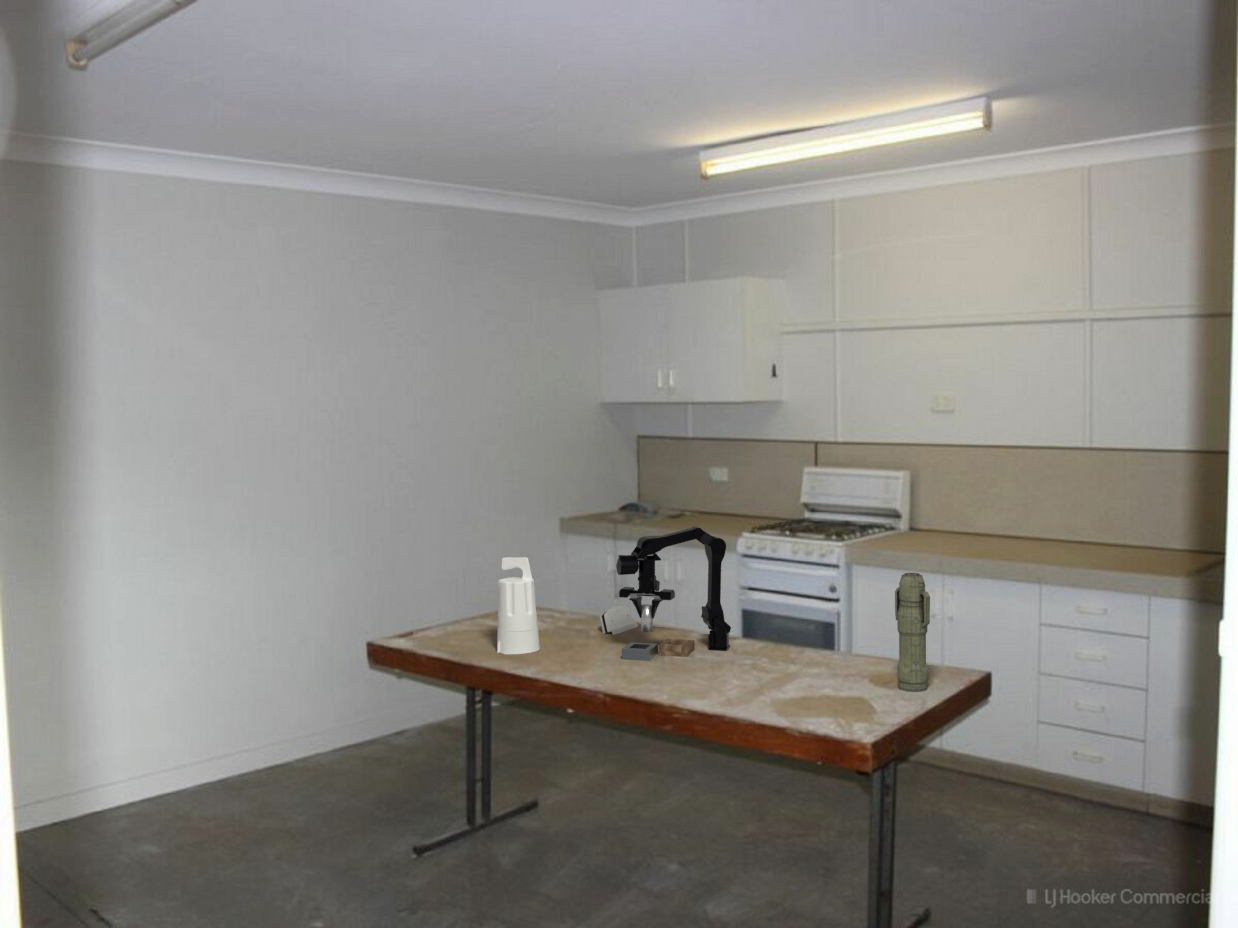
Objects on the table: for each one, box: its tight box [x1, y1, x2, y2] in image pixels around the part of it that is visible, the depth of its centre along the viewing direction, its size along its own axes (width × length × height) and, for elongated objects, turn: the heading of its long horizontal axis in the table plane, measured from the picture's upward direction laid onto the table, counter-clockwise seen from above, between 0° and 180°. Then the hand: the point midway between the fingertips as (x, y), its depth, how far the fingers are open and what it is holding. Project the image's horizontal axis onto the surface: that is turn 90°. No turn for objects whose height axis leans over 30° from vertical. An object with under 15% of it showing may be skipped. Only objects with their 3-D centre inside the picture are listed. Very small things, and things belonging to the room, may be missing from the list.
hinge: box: [599, 605, 639, 636], centre depth 430 cm, size 17×5×10 cm, turn 144°
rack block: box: [621, 641, 659, 662], centre depth 388 cm, size 10×10×4 cm
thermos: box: [894, 572, 931, 693], centre depth 340 cm, size 9×12×35 cm
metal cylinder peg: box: [640, 603, 654, 633], centre depth 388 cm, size 4×4×9 cm
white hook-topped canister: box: [496, 556, 541, 656], centre depth 402 cm, size 15×15×33 cm
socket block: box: [658, 638, 696, 658], centre depth 392 cm, size 10×10×4 cm
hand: (646, 618), depth 388 cm, fingers closed on metal cylinder peg, 4 cm apart
